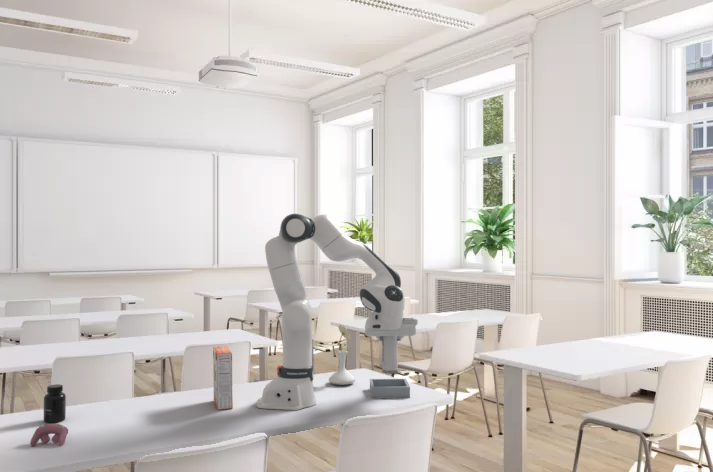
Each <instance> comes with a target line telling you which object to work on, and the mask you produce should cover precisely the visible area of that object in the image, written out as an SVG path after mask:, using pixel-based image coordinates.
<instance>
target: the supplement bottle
mask: <svg viewBox="0 0 713 472" xmlns="http://www.w3.org/2000/svg"><path fill="white" fill-rule="evenodd" d="M63 386H64V385H63V384H49V385H47V386H46V387H47V388H46V394H44V397H43V422H44V423H45V424H59V423H62V422H63V421H65V420H66V411H67V409H66V405H67V404H66V403H67V402H66V400H67V397H66V396H67V395H66V393H65V392H63V391H64V387H63Z"/></svg>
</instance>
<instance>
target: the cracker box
mask: <svg viewBox="0 0 713 472" xmlns="http://www.w3.org/2000/svg"><path fill="white" fill-rule="evenodd" d="M212 360H213V361H212V363H213V365H212V366H213V369H212V370H213V371H212V372H213V377H212V378H213V402H214V404H215V406H216V407H215V408H216V409H217V411H220V410H221V411H225V410H231V409H234V408H233V407H234V406H233V405H234V404H233V353H232V351H231V349H230V348H229V347H228V346H227V345H224V346H213V348H212Z"/></svg>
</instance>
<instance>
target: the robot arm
mask: <svg viewBox="0 0 713 472" xmlns="http://www.w3.org/2000/svg"><path fill="white" fill-rule="evenodd" d="M306 240H311V241H313V242H314V243H315V244H316V245H317V246H318V248H319V249H320V250H321V252H322V253H323V254H324V256H325V257H327V259H329V260H330V261H333V262H345V261H348V260H351V259H352V260H353V259H359V260H361V261H362V262H364V264H365V265H367V266H368V267H369V268H370V269H371V270H372V271H373V272H374V273H375V276H374V277H373V278H372V279H371V280H369V281H368V282H367V283H366V284H365V285H364V286H363V287H361V288H360V290H359V298H360V301H361V304H362V306H364V308H366V309H368V311H370V312H368V318H366V320H365V325H364V335H365V336H367V337H376V339H377V341H378V342H382V336H397V342H401V341H402V339H403V338H404V337H408V336H409V337H411V336H416V334H417V328H416V327H417V325H418V322H419V320H418V319H416V318H414V317H404V310H405V301H406V300H405V294H404V292H403V290H402V288H401V285H402V280H401V276H400V275H399V273H398V272H397V271H396V270H394V268H392V267H390V266H389V265H387V264H386V263H385V262H384V261H383V260H382V259H381V258H380V257H379V256H378V255H377V254H376V253H375V252H374V251H373V250H371V248H369V247H368V245H366V244H365V243H364V242H363V241H362V240H358V239H353V238H351V237H350V236H349V235H347V234H346V233H345V231H343V229H342V227H340V226H339V225H338V224H337V223H336V222H335V220H333V219H332V218H331V217H330V216H329V215H327V214H319V215H316V216H314V217H313V218H309V217H307V216H305V215H303V214H299V213H289V214H287V215H286V216H285V217H284V218H283V219H282V221H281V223H280V227H279V233H278V236H275V237H272V238H270V239H269V240H268V241H267V242H266V243H265V246H264V249H265V250H264V253H265V259H266V264H267V268H268V272H269V274H270V278H271V282H272V286H273V288H274V291H275V294H276V296H277V299H278V302H279V305H280V308H281V311H282V313H281V334H282V335H281V336H282V365H281V364H279V365H278V366H277V367H276V371H277V376H275V378H273V379H272V380H271V381H270V382H268V383H267V384H266V385H265V387H264V388H263V390H262V394H261V397H259V398H258V399H257V400H256V403H255V406H256V408H258V409H266V410H267V409H269V410H288V411H289V410H290V411H291V410H292V411H298V410H301V409H304V408H309V407H313V406H315V405H316V404H317V399H316V396H315V389H314V384H313V380H314V375H315V374H314V373H315V371H314V365H313V331H312V330H313V317H312V316H313V309H312V306H311V302H310V298H309V297H308V292H307V290H306V286H305V284H304V280H303V278H302V274H301V270H300V267H299V264H298V263H299V262H298V259H297V257H296V253H295V247H296V245H297V244H298V243H302V242H304V241H306Z"/></svg>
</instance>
